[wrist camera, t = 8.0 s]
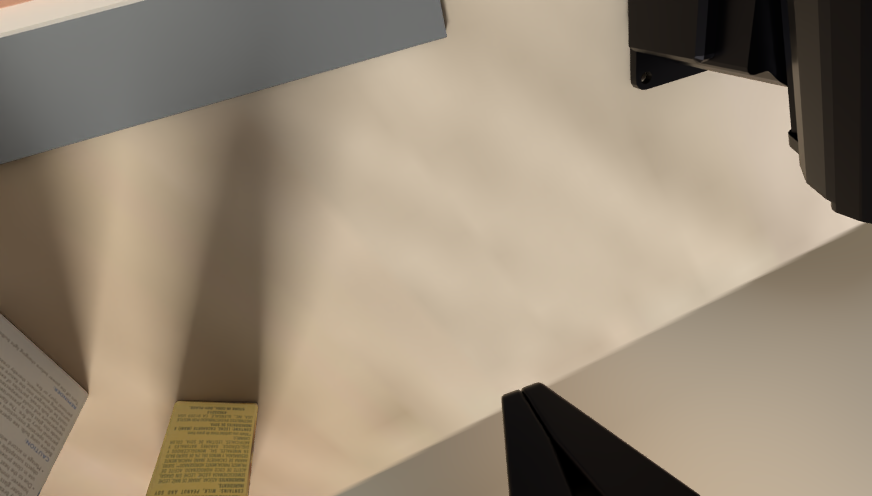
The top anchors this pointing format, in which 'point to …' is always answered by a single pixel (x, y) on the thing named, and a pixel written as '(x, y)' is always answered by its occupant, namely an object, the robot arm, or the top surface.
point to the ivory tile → (48, 12)
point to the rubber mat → (183, 60)
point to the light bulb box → (32, 412)
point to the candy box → (206, 450)
